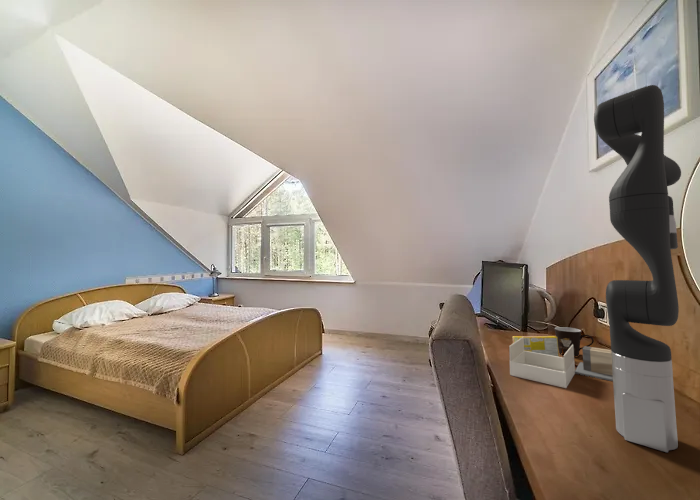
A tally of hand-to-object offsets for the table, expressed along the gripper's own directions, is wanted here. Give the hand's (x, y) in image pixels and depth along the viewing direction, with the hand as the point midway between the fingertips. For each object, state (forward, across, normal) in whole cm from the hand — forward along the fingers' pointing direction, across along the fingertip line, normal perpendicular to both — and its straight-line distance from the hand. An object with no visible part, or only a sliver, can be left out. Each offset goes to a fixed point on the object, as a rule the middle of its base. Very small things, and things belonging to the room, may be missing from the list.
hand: (660, 290), depth 81 cm
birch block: (+28, +10, +14) cm, 33 cm away
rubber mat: (+29, +10, +14) cm, 34 cm away
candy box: (+29, +14, +34) cm, 47 cm away
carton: (+29, -4, +29) cm, 41 cm away
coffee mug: (+29, +26, +24) cm, 46 cm away
